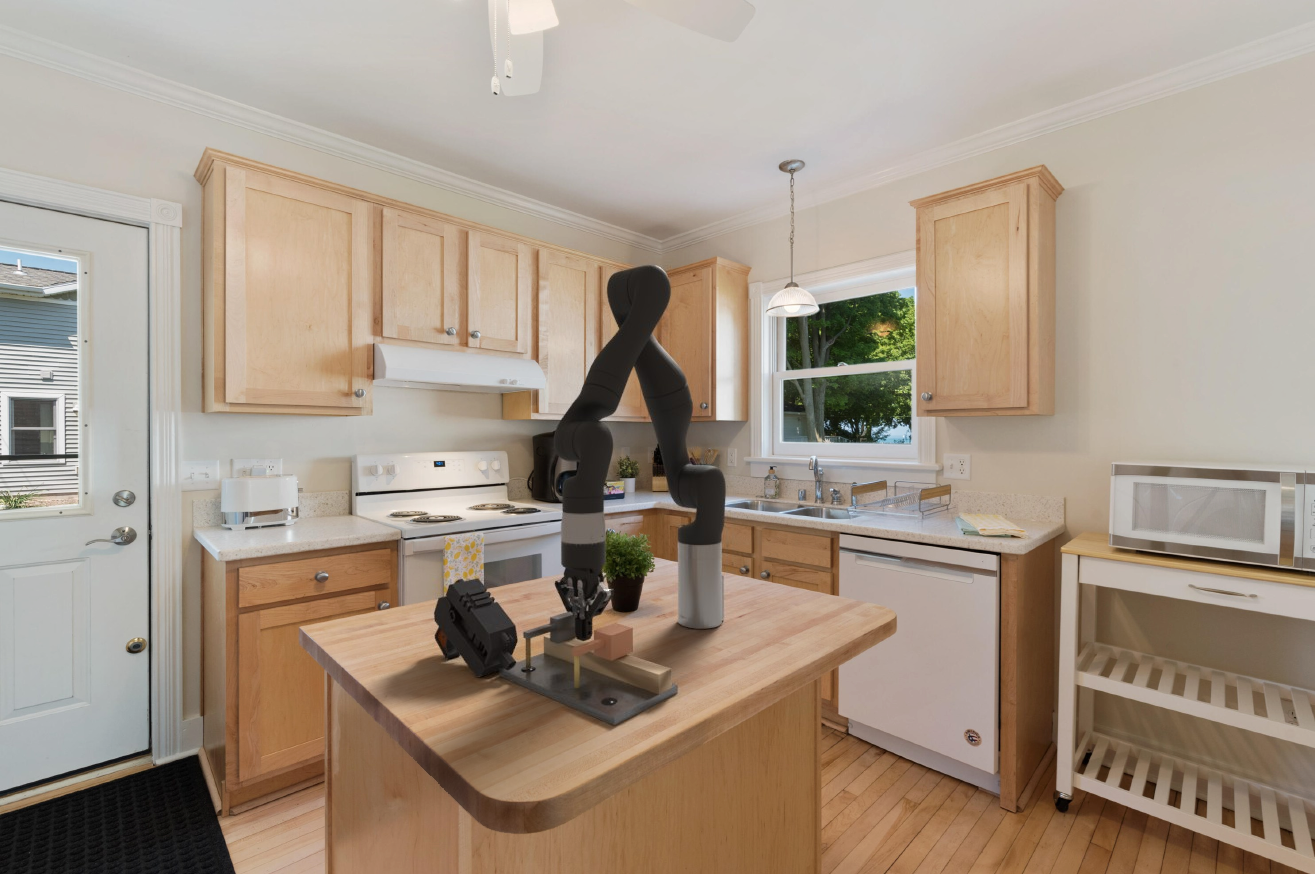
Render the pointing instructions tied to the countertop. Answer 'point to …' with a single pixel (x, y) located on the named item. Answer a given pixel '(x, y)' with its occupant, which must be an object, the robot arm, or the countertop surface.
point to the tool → (475, 628)
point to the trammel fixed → (620, 668)
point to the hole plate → (584, 688)
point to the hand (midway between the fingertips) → (583, 639)
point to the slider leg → (605, 646)
